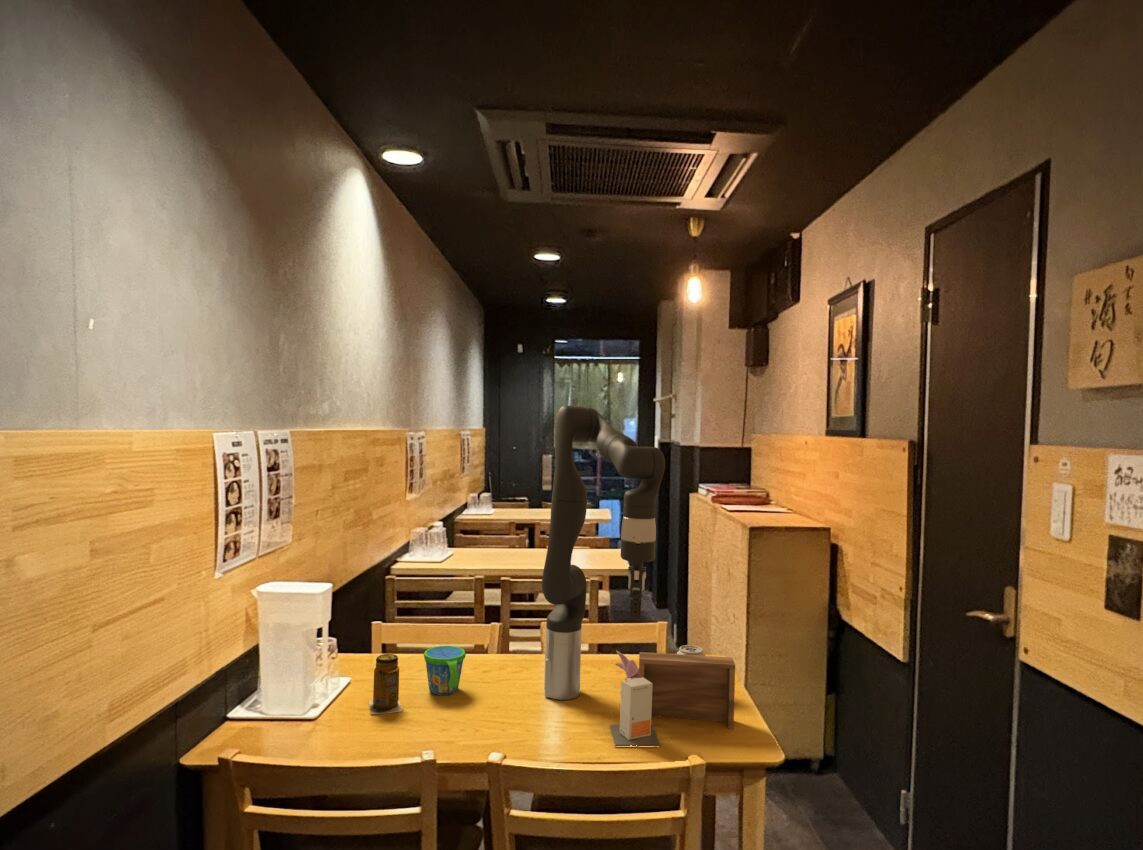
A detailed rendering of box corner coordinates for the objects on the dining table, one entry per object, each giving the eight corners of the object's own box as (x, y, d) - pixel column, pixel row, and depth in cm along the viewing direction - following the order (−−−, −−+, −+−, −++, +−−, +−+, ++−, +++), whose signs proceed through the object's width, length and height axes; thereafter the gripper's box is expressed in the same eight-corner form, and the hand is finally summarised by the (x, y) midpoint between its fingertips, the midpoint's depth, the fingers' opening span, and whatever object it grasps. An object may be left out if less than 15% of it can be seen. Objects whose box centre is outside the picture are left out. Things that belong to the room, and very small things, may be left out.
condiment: (398, 698, 171) (400, 651, 171) (402, 712, 163) (403, 662, 163) (368, 701, 168) (370, 653, 168) (371, 715, 160) (372, 665, 160)
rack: (733, 728, 158) (735, 664, 158) (637, 721, 160) (639, 658, 160) (730, 719, 163) (732, 657, 163) (637, 713, 165) (639, 652, 165)
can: (702, 688, 182) (704, 644, 182) (705, 699, 175) (706, 653, 175) (675, 687, 183) (676, 642, 183) (676, 698, 175) (677, 651, 175)
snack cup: (471, 699, 171) (472, 659, 171) (429, 704, 167) (430, 663, 167) (456, 677, 186) (457, 640, 186) (418, 682, 181) (419, 644, 181)
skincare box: (629, 741, 149) (630, 687, 149) (619, 733, 153) (620, 680, 153) (652, 736, 152) (653, 682, 152) (641, 728, 156) (642, 676, 156)
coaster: (615, 747, 147) (615, 744, 147) (609, 727, 157) (609, 724, 157) (660, 747, 148) (660, 744, 148) (651, 726, 158) (651, 724, 158)
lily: (653, 703, 174) (663, 666, 178) (613, 687, 173) (624, 650, 176) (635, 700, 185) (645, 665, 189) (597, 685, 183) (608, 650, 187)
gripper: (622, 531, 155) (620, 602, 155) (619, 542, 141) (616, 619, 141) (655, 533, 154) (652, 604, 154) (655, 544, 140) (653, 622, 140)
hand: (635, 611), depth 147 cm, fingers open, 8 cm apart
